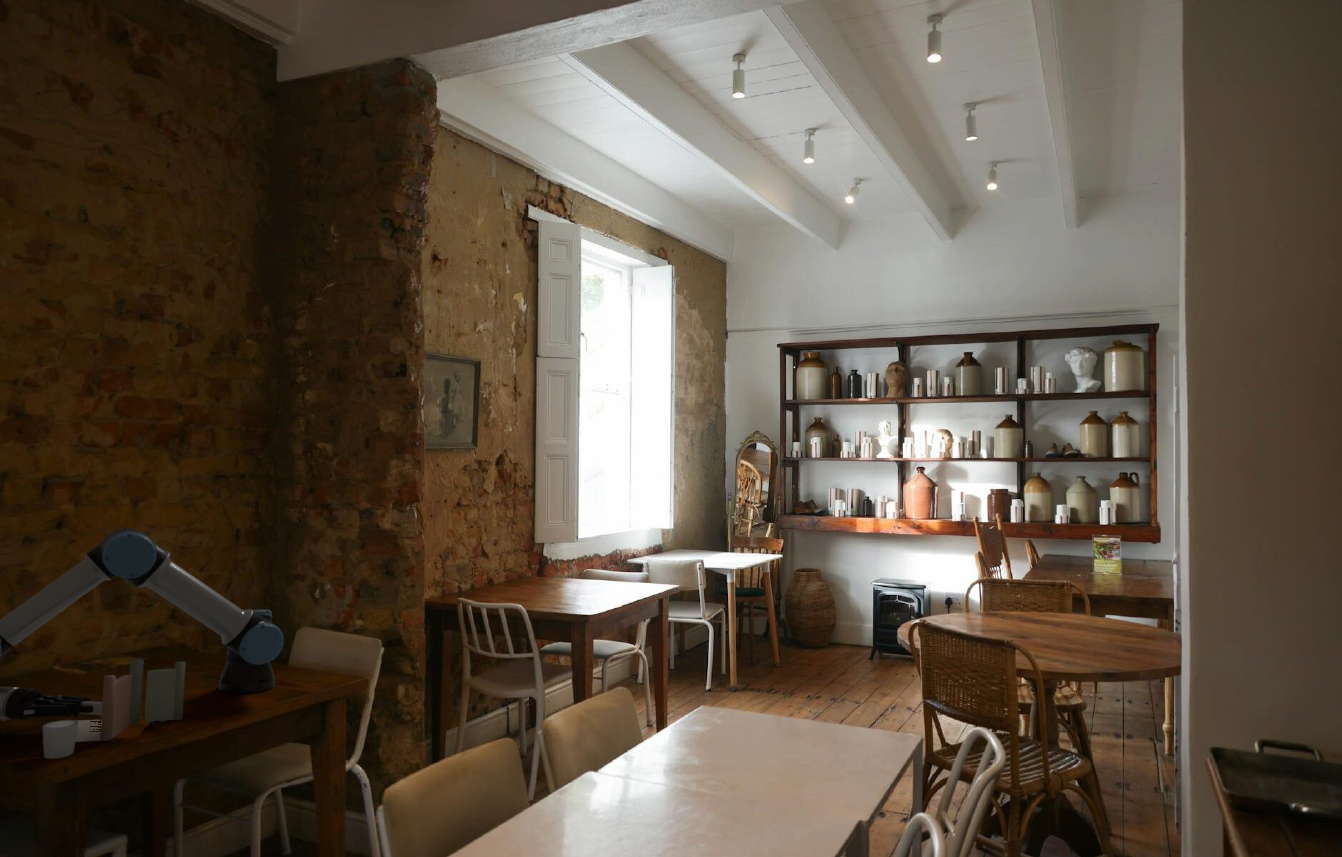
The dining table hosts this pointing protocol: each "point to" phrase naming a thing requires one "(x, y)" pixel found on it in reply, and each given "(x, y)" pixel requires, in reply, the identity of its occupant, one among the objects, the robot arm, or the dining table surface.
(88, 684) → the dining table surface
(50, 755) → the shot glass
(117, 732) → the gate panel
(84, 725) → the card
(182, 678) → the fence post and fixed panel
